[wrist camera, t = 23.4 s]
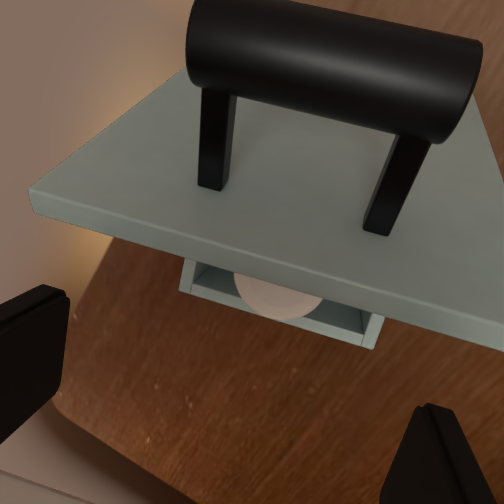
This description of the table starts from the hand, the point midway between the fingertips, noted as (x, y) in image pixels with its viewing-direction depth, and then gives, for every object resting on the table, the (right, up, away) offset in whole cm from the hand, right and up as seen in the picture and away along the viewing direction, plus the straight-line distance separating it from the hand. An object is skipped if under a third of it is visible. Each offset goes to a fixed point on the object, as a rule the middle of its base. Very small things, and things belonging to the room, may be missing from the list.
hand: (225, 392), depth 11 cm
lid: (+3, +8, +5) cm, 10 cm away
